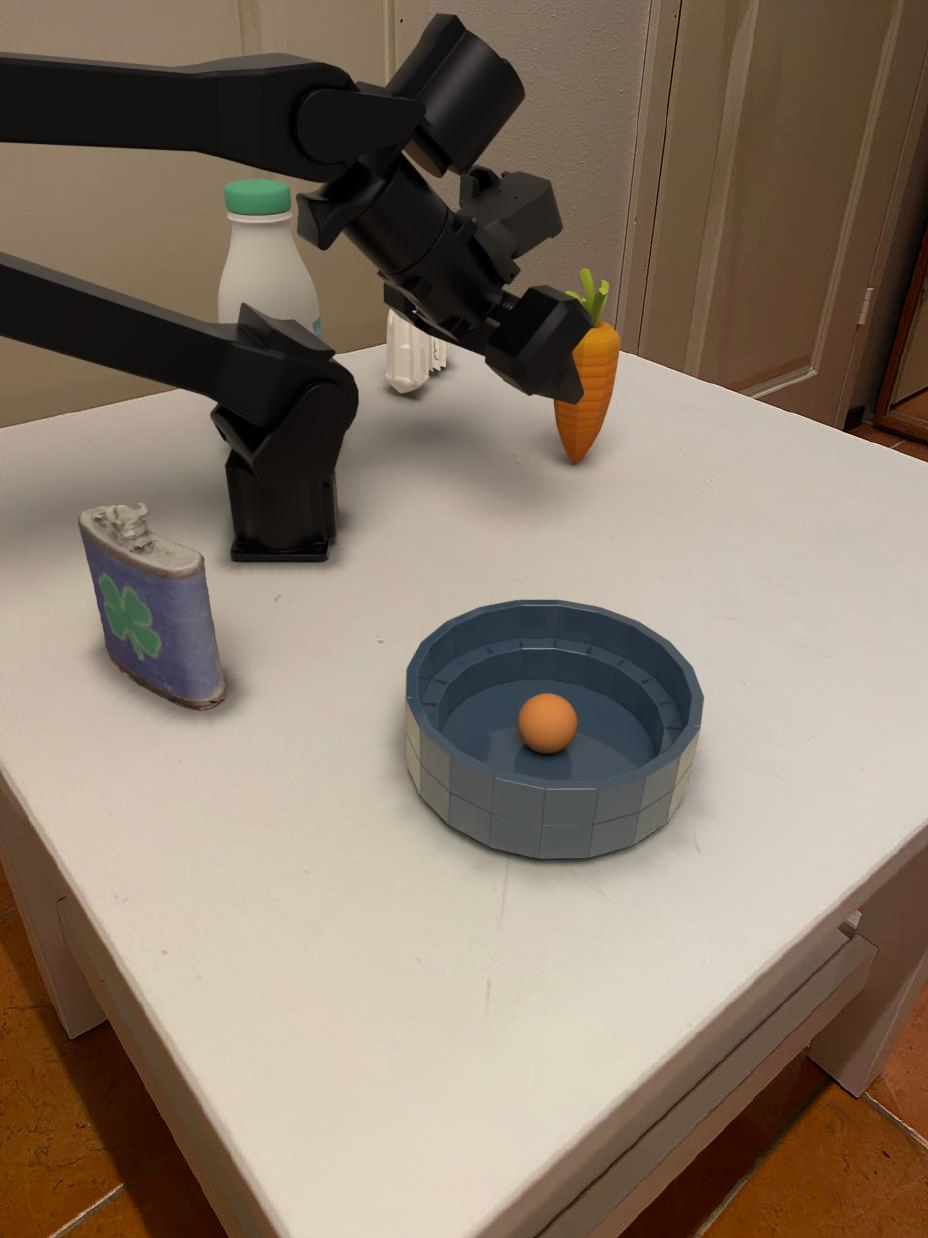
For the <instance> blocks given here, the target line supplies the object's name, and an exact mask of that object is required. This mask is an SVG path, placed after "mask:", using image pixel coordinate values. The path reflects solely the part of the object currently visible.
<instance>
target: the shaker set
mask: <svg viewBox="0 0 928 1238" xmlns="http://www.w3.org/2000/svg"><path fill="white" fill-rule="evenodd" d="M413 312H414V313H415V311H413ZM385 349H386V352H385V353H386V355H385V356H386V357H385V360H386V361H385V375H384V376H385V380H386V381H387V382H388V384H389V385H390V386H392V387H393V388H394V390H396V391H397V392H398V393H399V394H405V393H410V392H412V391H414V390H417V389H419V388H421V387H422V386H423V385H424V383H425V382H426V381H428V380H429V378H430V372H434V369H435V370H437V371H438V372H439V371H442V367H443V368H446V367H447V353H448V351H447V349H448V342H445V341H443V340H440V339H438V338H435V337H433V336H430V335H428V334H426V333H424V332H423V331H421V330H419V329H418V328H416V327H414V326H413V325H412V324H410V323H408V322H407V321H405V320H403V319H402V318H400V317H399V316H398V315H397V314H396V313H395V312H394V311H393V310H392V309H391V308H390V307H389V311H388V314H387V322H386V348H385Z"/></svg>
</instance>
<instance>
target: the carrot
mask: <svg viewBox="0 0 928 1238" xmlns="http://www.w3.org/2000/svg"><path fill="white" fill-rule="evenodd" d="M579 276H580V281H581V286H582V289H583V292H584V296H585V298H584V297H582V296H580V295H579V294H577V293H575V292H574V291H572V290H567V291H565V292H564V293H566V294H568V295H570V296H573V297H575V298H577V299H578V300H579V301H580V302H581V304H582V305H583V306H584V307H585V309H586V310H587V311H588V312H589V314H590V315H591V316H592V328H591V329H590V330H589V331H588V333H587V334H586V335H585V336H584V338H583V339H582V340H581V341H580V343H579V344H578V345H577V346H576V348H575V349H574V350H573V351H572V353H573V358H574V361H575V364H576V368H577V371H578V374H579V377H580V380H581V383H582V386H583V389H584V396H583V397H582V398H581V400H580V401H579V402H578V403H577V404H576V405H572V404H569V403H565V402H562V401H558V400H554V399H552V400H553V409H554V419H555V424H556V429H557V432H558V436H559V438H560V443H561V444H562V446H563V449H564V451H565V453H566V456H567V458H568V460H569V461H570V462H571V463H572V464H573V465H577V464H578V463H580V462H581V461H583V460H584V458H585V457H586V455H587V454H588V452H589V451H590V449H591V448H592V447H593V445H594V443H595V441H596V440H597V438H598V436H599V434H600V432H601V431H602V429H603V425H604V422H605V419H606V415H607V413H608V410H609V407H610V402H611V400H612V396H613V392H614V387H615V382H616V376H617V371H618V370H617V369H618V363H619V357H620V349H621V338H620V334H619V333H618V332H617V331H616V329H615V328H614V327H613V326H612V325H611V324H609V323H608V322H606V321H603V320H600V319H601V316H602V313H603V311H604V308H605V306H606V303H607V299H608V294H609V289H610V283H609V282H608V281H607V280H605V279H601V280H600V282H599V283H600V284H599V289H598V290H597V292H596V289H595V284H594V280H593V276H592V273H591V270H590V268H585V267H584V268H582V269H581V270H579Z"/></svg>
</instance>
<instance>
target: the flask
mask: <svg viewBox="0 0 928 1238" xmlns="http://www.w3.org/2000/svg"><path fill="white" fill-rule="evenodd" d="M138 506H139V508H138V509H132V507H131V506H128V504H127V505H126V504H118V505H115V504H112V505H105V504H103V505H99V506H92V507H90V508H89V509H85V510H84V511H82V512H81V513H80V514H79V516H78V517H77V518H78V519H77V523H78V524H77V525H78V528H79V534H80V537H81V541H82V544H83V546H84V551H85V556H86V562H87V564H88V569H89V572H90V576H91V581H92V584H93V590H94V595H95V599H96V606H97V611H98V613H99V615H100V623H101V625H102V626H101V627H102V630H103V636H104V644H105V648H106V653H107V656H108V657H109V660H110V661H111V663H113V665H115V666H116V667H117V668H118V670H119V671H120V672H122V673H123V674H124V675H125V677H128V679H130V680H133V681H134V682H135V683H136V684H138V685H141V686H144V687H145V688H146V689H148V690H149V691H151V692H153V693H155V694H157V695H159V696H160V697H163V698H165V699H166V700H169V701H171V702H173V703H174V704H176V705H178V706H180V707H187V708H191V709H193V710H197V709H198V710H200V711H203V710H205V709H211V708H213V707H215V706H216V705H217V704H218V703H220V702H221V701H222V700H223V699H225V698H226V690H227V689H226V681H225V680H224V671H223V668H222V663H221V659H220V652H219V649H218V642H217V638H216V629H215V622H214V618H213V613H212V608H211V601H210V593H209V587H208V583H207V575H206V566H205V565H206V564H205V561H206V560H205V557H204V555H203V554H202V553H201V552H199V551H198V550H196V549H194V548H191V547H188V546H185V545H183V544H181V543H177V542H174V541H173V540H170V539H168V538H166V537H162V536H160V535H159V534H156V533H155V532H153V531H151V530H150V529H149V528H148V524H149V523H148V522H147V521H146V520H144V519H145V518H148V516H149V515H150V510H149V509H148V507H147V506H146V503H144V502H139V503H138ZM213 702H214V703H213Z"/></svg>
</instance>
